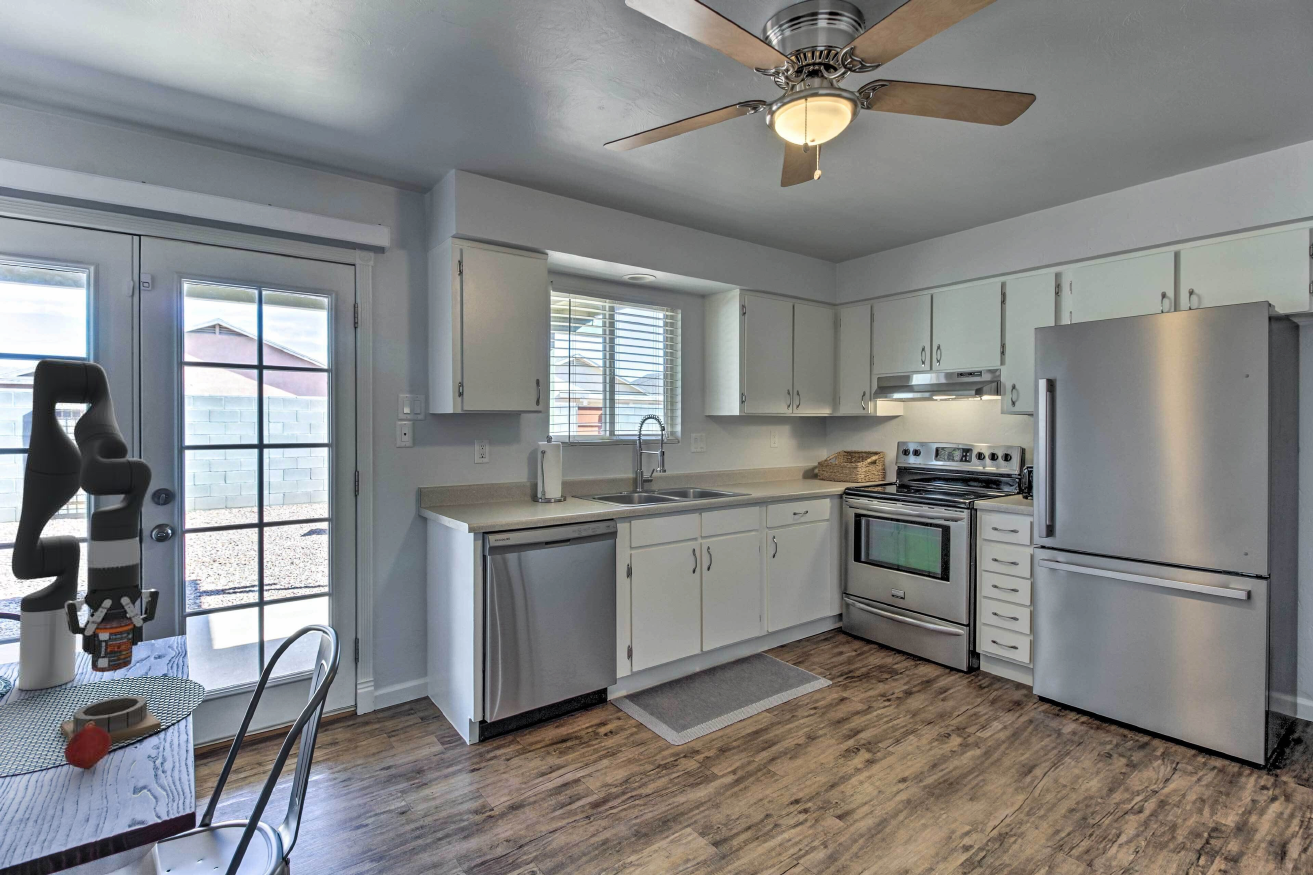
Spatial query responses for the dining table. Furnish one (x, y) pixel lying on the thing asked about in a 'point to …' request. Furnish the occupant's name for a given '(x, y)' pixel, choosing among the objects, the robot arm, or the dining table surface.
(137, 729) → the ring holder
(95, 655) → the supplement bottle
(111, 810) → the dining table surface
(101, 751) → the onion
